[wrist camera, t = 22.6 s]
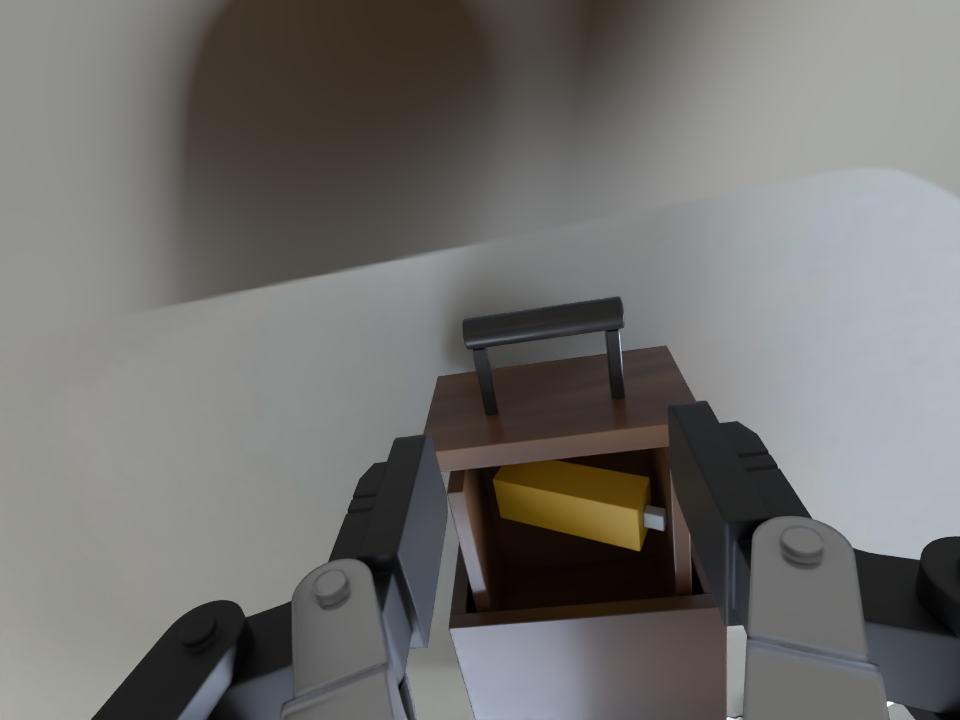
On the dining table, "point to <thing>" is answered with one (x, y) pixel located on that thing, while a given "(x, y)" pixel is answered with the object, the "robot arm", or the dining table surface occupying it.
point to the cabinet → (594, 657)
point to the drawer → (559, 458)
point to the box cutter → (579, 501)
